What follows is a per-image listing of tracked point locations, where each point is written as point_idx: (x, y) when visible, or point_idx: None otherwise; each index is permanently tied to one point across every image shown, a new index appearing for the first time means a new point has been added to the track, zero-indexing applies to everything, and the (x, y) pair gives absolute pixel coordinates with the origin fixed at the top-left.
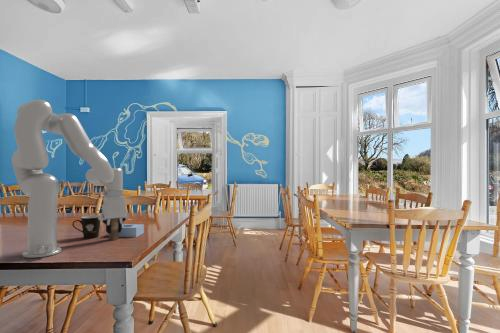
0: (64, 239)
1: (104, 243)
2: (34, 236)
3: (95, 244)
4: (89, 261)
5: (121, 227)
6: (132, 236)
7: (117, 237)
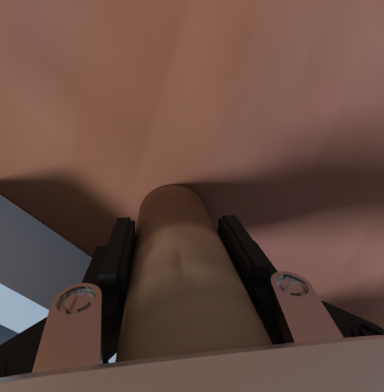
0: None
1: (277, 124)
2: None
3: (330, 139)
4: None
5: (95, 260)
6: (13, 206)
7: (154, 195)
